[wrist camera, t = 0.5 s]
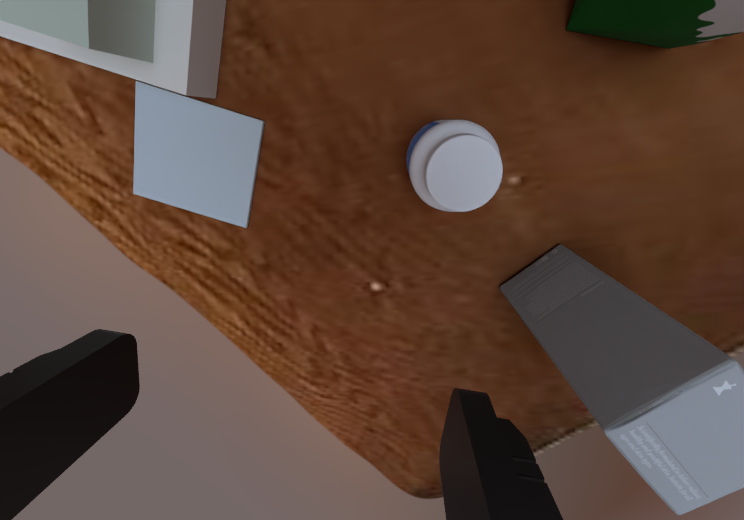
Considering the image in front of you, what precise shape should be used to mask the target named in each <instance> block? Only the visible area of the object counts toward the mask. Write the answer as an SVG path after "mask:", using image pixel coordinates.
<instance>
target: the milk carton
mask: <svg viewBox="0 0 744 520" xmlns="http://www.w3.org/2000/svg"><path fill="white" fill-rule="evenodd" d="M566 30H569V31H574V32H580V33H585V34H591V35H597V36H602V37H608V38H613V39H619V40H624V41H630V42H636V43H641V44H647V45H652V46H658V47H663V48H669V49H670V48H675V47H681V46H687V45H693V44H698V43H702V42H706V41H710V40H714V39H718V38H722V37H726V36H730V35H734V34H738V33H742V32H744V0H576V1H575V4H574V7H573V10H572V13H571V16H570V19H569V22H568V25H567V28H566Z"/></svg>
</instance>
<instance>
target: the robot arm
mask: <svg viewBox="0 0 744 520" xmlns="http://www.w3.org/2000/svg"><path fill="white" fill-rule="evenodd" d="M138 393H139V371H138V355H137V342H136V339H135V337H134V336H132V335H131V334H126V333H120V332H114V331H108V330H102V329H98V330H94V331H92V332H90V333H88V334H87V335H85V336H83V337H82V338H79V339H77V340H76V341H74V342H72V343H70V344H68V345H67V346H65V347H63V348H61V349H58V350H55V351H52V352H49V353H47V354H43V355H40V356H38V357H36V358H34V359H32V360H31V361H29V362H27V363H25V364H23V365H21V366H20V367H17V368H16V369H14V370H13V372H12V373H6V374H4V375H3V376H0V520H12V519H13V518H14V517H15V516H16V515H17V514H18V513H19V512H20V511H21V510H23V509H24V508H25V507H26V506H27V505H28V504H29V503H30V502H31V501H32V500H33V499H35V497H37V496H38V495H39V494H40V493H41V492H42V491H43V490H44V489H46V488H47V487H48V486H49V485H50V484H51V483H52V482H53V481H54V480H55V479H56V478H58V477H59V476H60V475H61V474H62V473H63V472H64V471H65V470H66V469H67V468H69V466H71V465H72V464H73V463H74V462H75V461H76V460H77V459H78V458H79V457H80V456H82V455H83V454H84V453H85V452H86V451H87V450H88V449H89V448H90V447H92V446H93V445H94V444H95V443H96V442H97V441H98V440H99V439H100V438H101V437H102V436H104V435H105V434H106V433H107V432H108V431H109V430H110V429H111V428H112V427H113V426H114V425H116V424H117V423H118V422H119V421H120V420H121V419H122V418H123V417H124V416H125V415H126V414H127V413H128V412H129V411H130V410H131V409H132V407H133V406H134V404H135V402H136V400H137V397H138ZM439 462H440V474H441V482H442V490H443V497H444V505H445V512H446V520H563V518H562V516H561V514H560V512H559V510H558V507H557V505H556V503H555V501H554V499H553V496H552V494H551V492H550V490H549V488H548V485H547V483H544V477H543V474H542V472H541V470H540V468H539V466H538V464H536V459H535V457H534V455H533V452H532V450H531V448H530V446H529V444H528V442H527V439H526V438H525V437H524V436H523V435H522V433H521V432H520V431H519V430H518V429H517V428H516V427H515V426H514V425H513V423H512V422H511V421H510V420H508V419H502V418H497V417H496V414H495V412H494V409H493V406H492V404H491V401H490V398H489V396H488V394H487V393H482V392H476V391H470V390H464V389H458V388H455V389H454V390H453V392H452V395H451V399H450V403H449V408H448V412H447V416H446V421H445V425H444V429H443V434H442V438H441V444H440V457H439Z"/></svg>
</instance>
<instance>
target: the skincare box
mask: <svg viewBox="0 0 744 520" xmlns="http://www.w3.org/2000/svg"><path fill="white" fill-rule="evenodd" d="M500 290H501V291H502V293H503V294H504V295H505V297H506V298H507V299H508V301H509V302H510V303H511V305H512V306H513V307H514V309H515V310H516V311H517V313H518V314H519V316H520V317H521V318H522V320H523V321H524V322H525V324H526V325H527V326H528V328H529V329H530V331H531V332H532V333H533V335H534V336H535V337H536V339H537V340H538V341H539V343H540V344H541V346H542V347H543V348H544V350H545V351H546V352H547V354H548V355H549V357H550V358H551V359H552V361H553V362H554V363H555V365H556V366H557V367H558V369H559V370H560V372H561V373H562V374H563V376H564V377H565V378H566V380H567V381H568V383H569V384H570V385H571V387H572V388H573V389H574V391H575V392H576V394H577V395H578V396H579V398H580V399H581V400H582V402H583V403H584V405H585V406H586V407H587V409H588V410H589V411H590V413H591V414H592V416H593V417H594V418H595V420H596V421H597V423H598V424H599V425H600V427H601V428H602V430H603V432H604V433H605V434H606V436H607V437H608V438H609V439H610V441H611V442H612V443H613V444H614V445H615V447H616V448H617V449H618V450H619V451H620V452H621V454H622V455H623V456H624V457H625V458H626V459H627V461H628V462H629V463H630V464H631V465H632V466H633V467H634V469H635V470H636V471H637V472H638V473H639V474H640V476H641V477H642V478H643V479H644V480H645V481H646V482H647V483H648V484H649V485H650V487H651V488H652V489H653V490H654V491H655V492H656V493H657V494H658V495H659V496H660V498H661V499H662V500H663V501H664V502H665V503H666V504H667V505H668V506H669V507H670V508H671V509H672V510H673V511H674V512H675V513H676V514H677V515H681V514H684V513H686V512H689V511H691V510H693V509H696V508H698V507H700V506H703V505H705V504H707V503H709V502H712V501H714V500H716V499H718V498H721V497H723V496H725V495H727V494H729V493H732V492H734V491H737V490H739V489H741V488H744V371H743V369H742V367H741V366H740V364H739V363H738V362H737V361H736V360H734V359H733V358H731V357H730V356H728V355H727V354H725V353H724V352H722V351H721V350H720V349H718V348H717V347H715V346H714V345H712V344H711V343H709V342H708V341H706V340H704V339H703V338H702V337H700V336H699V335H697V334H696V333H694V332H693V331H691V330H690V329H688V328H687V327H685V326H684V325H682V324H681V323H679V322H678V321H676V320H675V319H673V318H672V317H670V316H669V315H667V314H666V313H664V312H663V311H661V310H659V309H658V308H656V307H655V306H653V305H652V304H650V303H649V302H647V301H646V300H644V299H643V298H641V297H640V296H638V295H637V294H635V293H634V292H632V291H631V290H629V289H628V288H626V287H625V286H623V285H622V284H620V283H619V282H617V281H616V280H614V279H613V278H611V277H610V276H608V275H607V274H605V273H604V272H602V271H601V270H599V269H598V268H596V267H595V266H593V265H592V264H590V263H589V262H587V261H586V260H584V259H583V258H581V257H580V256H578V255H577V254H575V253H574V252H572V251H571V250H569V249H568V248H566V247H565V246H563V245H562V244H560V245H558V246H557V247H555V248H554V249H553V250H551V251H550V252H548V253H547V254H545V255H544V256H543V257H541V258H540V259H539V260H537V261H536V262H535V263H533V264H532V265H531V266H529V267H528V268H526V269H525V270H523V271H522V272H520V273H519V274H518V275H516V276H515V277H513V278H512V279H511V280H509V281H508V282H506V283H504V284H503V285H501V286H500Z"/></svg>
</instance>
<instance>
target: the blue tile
mask: <svg viewBox="0 0 744 520" xmlns="http://www.w3.org/2000/svg"><path fill="white" fill-rule="evenodd" d="M264 124H265V121H262V120H259V119H256V118H253V117H250V116H246V115H243V114H240V113H237V112H234V111H231V110H228V109H224V108H221V107H218V106H215V105H212V104H209V103H206V102H202V101H199V100H196V99H193V98H190V97H187V96H184V95H181V94H177V93H174V92H171V91H168V90H165V89H162V88H159V87H155V86H152V85H149V84H146V83H143V82H140V81H136V95H135V141H134V186H133V194H136V195H139V196H143V197H146V198H149V199H153V200H156V201H159V202H162V203H166V204H169V205H172V206H176V207H179V208H182V209H185V210H189V211H192V212H195V213H198V214H202V215H205V216H208V217H212V218H215V219H218V220H221V221H225V222H228V223H231V224H234V225H238V226H241V227H244V228H247V227H248V223H249V217H250V211H251V205H252V199H253V192H254V186H255V180H256V174H257V167H258V161H259V155H260V149H261V143H262V136H263V130H264Z"/></svg>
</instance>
